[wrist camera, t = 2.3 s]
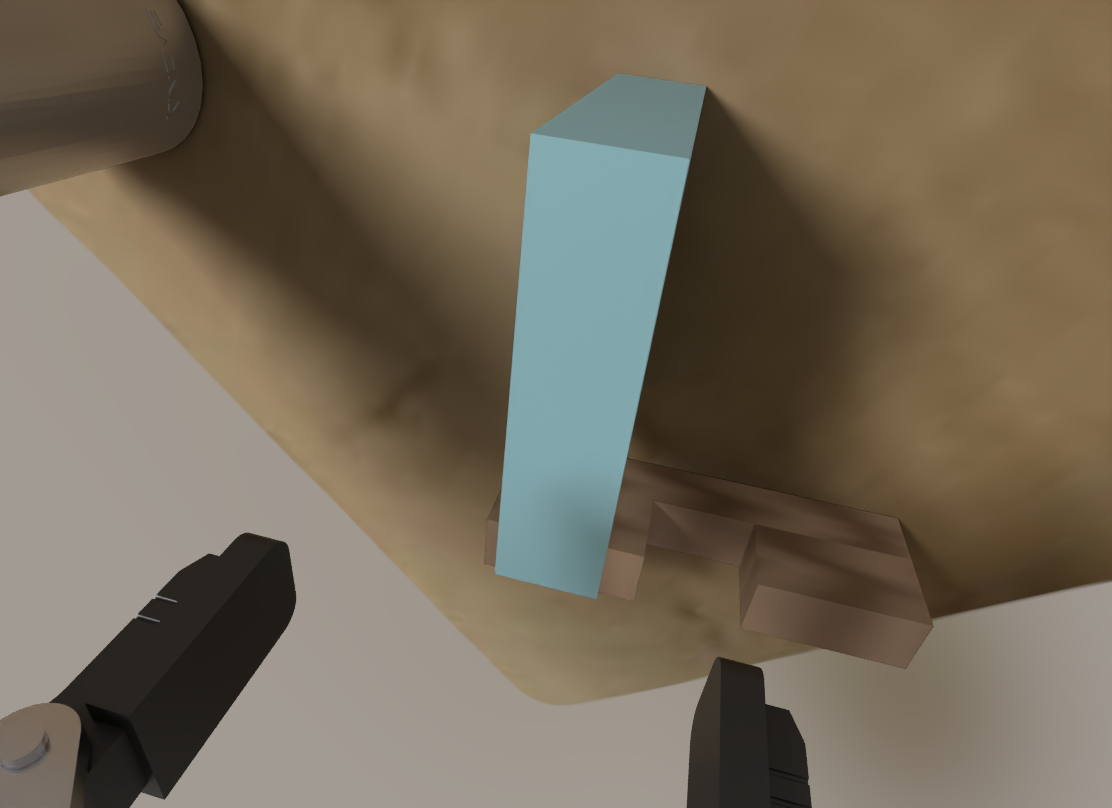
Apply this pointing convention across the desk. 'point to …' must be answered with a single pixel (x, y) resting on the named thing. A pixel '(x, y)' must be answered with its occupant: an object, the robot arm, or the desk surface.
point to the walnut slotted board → (772, 559)
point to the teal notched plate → (588, 319)
